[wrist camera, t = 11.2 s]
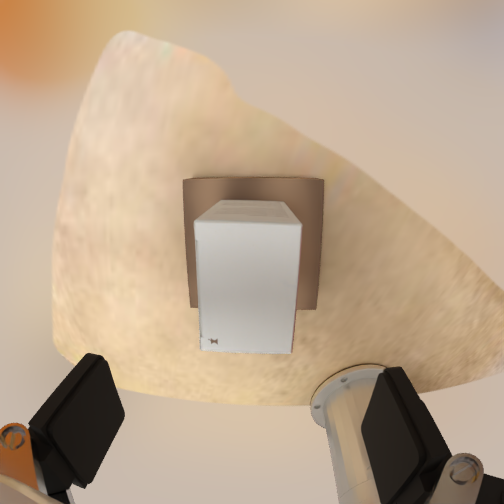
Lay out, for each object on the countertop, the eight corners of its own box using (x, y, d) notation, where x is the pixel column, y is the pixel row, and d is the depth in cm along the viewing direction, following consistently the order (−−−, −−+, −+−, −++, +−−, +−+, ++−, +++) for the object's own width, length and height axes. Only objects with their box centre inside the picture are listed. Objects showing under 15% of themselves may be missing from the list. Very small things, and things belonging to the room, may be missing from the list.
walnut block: (315, 178, 28) (324, 179, 24) (310, 292, 31) (316, 309, 27) (193, 178, 28) (182, 179, 24) (198, 290, 31) (190, 307, 27)
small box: (281, 288, 27) (293, 358, 16) (219, 286, 27) (199, 354, 16) (286, 199, 24) (306, 223, 14) (219, 197, 24) (192, 219, 14)
